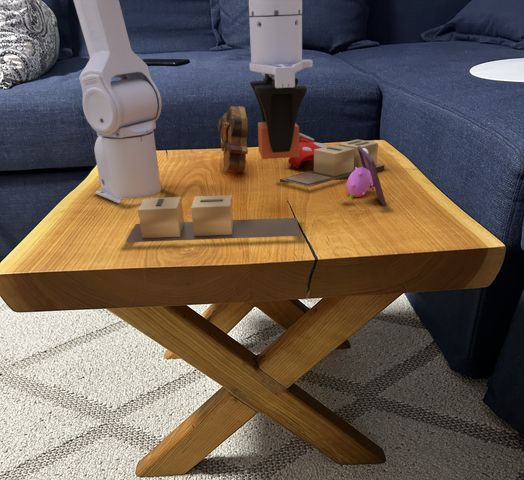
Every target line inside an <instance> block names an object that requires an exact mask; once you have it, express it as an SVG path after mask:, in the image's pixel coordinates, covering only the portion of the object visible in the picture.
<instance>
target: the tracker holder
mask: <svg viewBox="0 0 524 480" xmlns="http://www.w3.org/2000/svg"><path fill="white" fill-rule="evenodd" d="M327 146H329V145H328V144H325V143H322V142H319V141H315V139H314V138H312V137H311V136H308V135H306V134H303V133H301V132H299V157H289V158H288V164H289V165H291V166H293V167H294V168H296V169H299V168H300V167H301V166H302V164H303V163H304V162H306V161H314V150H315V149H319V148H323V147H327Z"/></svg>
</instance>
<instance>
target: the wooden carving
mask: <svg viewBox="0 0 524 480" xmlns="http://www.w3.org/2000/svg"><path fill="white" fill-rule="evenodd" d="M217 127H218V133H219V134H220V149H221V151H222V152H223V158H222V159H223V168H224V170H225V171H226V172H234V173H240V174H242V173H243V172H245V170H246V167H247V159H246V158H247V157H246V156H247V155H248V153H249V150H248V149H249V147H248V146H247V139H248V138H247V137H248V117H247V112H246V108H245V106H244V105H243V106H238V105H237V106H233V105H231V106H230V107H229V108H228V111H227V112H224V113H223V115H222V117H221V118H220V119H219V120H218V124H217Z"/></svg>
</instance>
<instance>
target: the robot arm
mask: <svg viewBox="0 0 524 480" xmlns="http://www.w3.org/2000/svg"><path fill="white" fill-rule="evenodd" d="M73 4H74V7H75V10H76V14H77V17H78V21H79V25H80V27H81V28H80V29H81V32H82V35H83V38H84V41H85V46H86V49H87V52H88V56H89V59H88V61H87V63H86V65H85V67H84V68H83V69H82V71H81V73H80V74H79V77H78V79H79V82H80V83H79V84H80V86H81V91H82V111H83V114H84V117H85V119H86V121H87V123H88V125H89V126H90V127H91V128H92V129H93V131H95V132H96V136H97V137H96V140H95V143H94V147H93V149H94V158H95V162H96V167H97V168H96V169H97V173H98V178H99V184H100V189H99V190H96V191H95V194H96V195H97V196H100V197H102V198H105V199H106V200H109V201H111V202H114V203H116V204H120V203H121V201H122V200H123V199H125V200H126V199H128V200H131V199H143V198H149V197H151V196H154V195H157V194H159V193H160V192H161V191H162V187H161V186H162V185H161V178H160V170H159V169H160V168H159V163H158V162H159V161H158V155H157V154H158V153H157V148H156V146H157V145H156V140H155V132H154V130H155V129H157V124H156V121H157V120H159V118H160V115H161V113H162V106H163V105H162V97H161V93H160V91H159V88H158V86H157V85H156V84H155V83H154V81H153V79H152V77H151V74H150V71H149V66H148V64H147V63H146V62H145V61H143V59H141V58H140V57H139V56H138V55H137V54H136V53H135V52H134V51H133V50H132V47H131V43H130V39H129V36H128V35H129V34H128V31H127V27H126V23H125V19H124V15H123V12H122V7H121V4H120V0H73ZM248 16H249V17H248V19H249V20H248V21H249V43H250V45H249V46H250V62H249V71H251V72H254V73H258V74H261V75H262V76H264V77H263V80H253V81H250V82H249V84H250V87H251V89H252V91H253V93H254V94H255V98H256V101H257V103H258V106H259V110H260V116H261V120H262V121H261V122H266V125H267V131H268V137H269V142H270V146H271V149H272V152H289V151H290V149H291V145H292V140H293V134H294V128H295V123H297V118H298V114H299V111H300V108H301V104H302V103H303V100H304V98H305V96H306V94H307V90H308V87H307V86H305V85H298V83H299V79H298V78H297V77H296V73H299V72H300V71H302V70H304V69H305V68H313V67H314V66H313V64H314V63H313V62H314V61H313V60H312V59H303V0H248ZM113 78H116V79H117V78H118V79H119V80H113V81H112V79H113Z"/></svg>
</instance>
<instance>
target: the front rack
mask: <svg viewBox="0 0 524 480" xmlns="http://www.w3.org/2000/svg"><path fill="white" fill-rule="evenodd" d="M190 210H191V211H190V212H191V220H192V221H185V219H184V209H183V201H182V196H168V197H144V198H143V200H142V202H141V203H140V205H139V207H138V208H137V214H138V220H139V223H134V226H133V228H132V229H131V231H130V232H129V235H128V237H127V238H126V239H125V243H146V242H147V243H149V242H172V241H173V242H175V241H199V240H200V241H201V240H225V239H227V240H229V239H249V238H251V239H252V238H277V237H300V236H301V233H300V227H299V221H298V217H279V218H254V219H253V218H251V219H234V212H233V211H234V209H233V196H232V194H219V195H217V194H216V195H195V196H194V198H193V201H192V204H191V206H190Z"/></svg>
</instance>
